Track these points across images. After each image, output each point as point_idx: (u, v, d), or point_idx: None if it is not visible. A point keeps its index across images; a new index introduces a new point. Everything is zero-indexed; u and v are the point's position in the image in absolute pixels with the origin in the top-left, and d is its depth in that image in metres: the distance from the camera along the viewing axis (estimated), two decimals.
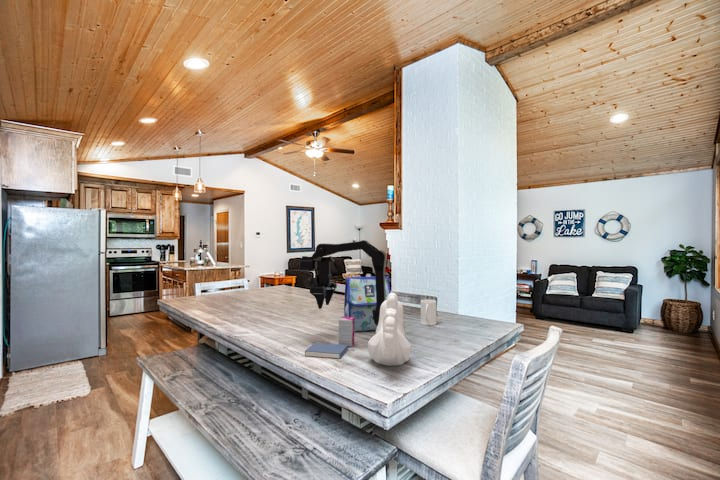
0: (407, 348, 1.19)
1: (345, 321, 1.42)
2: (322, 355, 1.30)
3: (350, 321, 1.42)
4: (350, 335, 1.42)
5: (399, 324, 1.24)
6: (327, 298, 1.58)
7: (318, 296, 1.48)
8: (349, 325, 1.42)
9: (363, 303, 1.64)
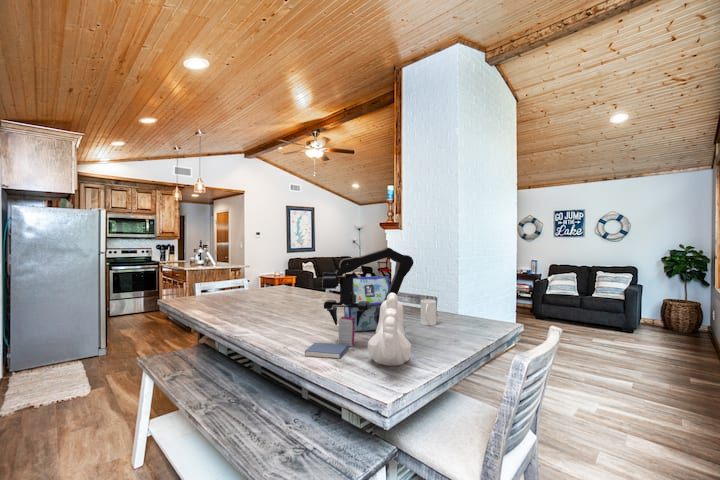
0: (407, 348, 1.19)
1: (345, 321, 1.42)
2: (322, 355, 1.30)
3: (350, 321, 1.42)
4: (350, 335, 1.42)
5: (399, 324, 1.24)
6: None
7: None
8: (349, 325, 1.42)
9: None
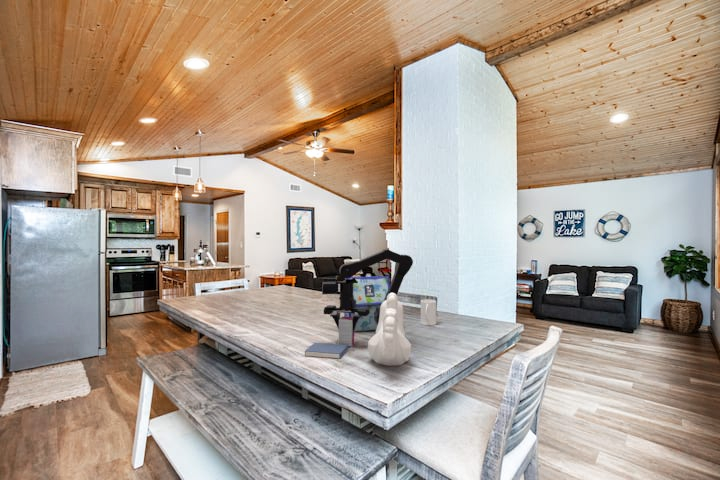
0: (407, 348, 1.19)
1: (345, 321, 1.42)
2: (322, 355, 1.30)
3: (350, 321, 1.42)
4: (350, 335, 1.42)
5: (399, 324, 1.24)
6: None
7: None
8: (349, 325, 1.42)
9: (363, 303, 1.64)
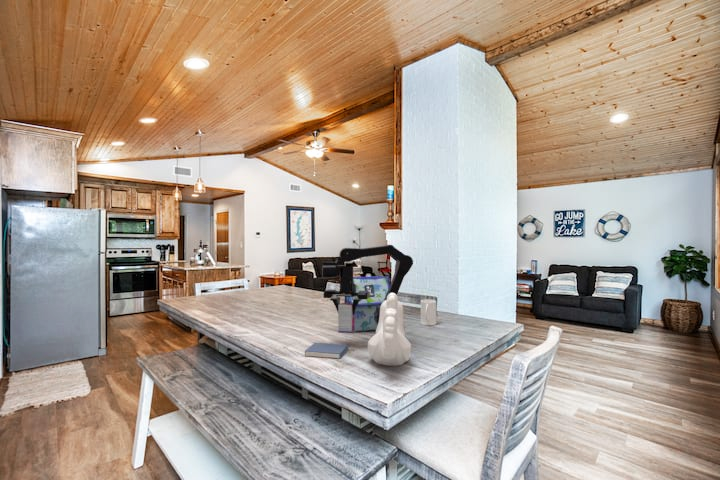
0: (407, 348, 1.19)
1: (344, 306, 1.43)
2: (322, 355, 1.30)
3: (349, 306, 1.42)
4: (350, 320, 1.42)
5: (399, 324, 1.24)
6: None
7: None
8: (348, 310, 1.42)
9: (363, 303, 1.64)
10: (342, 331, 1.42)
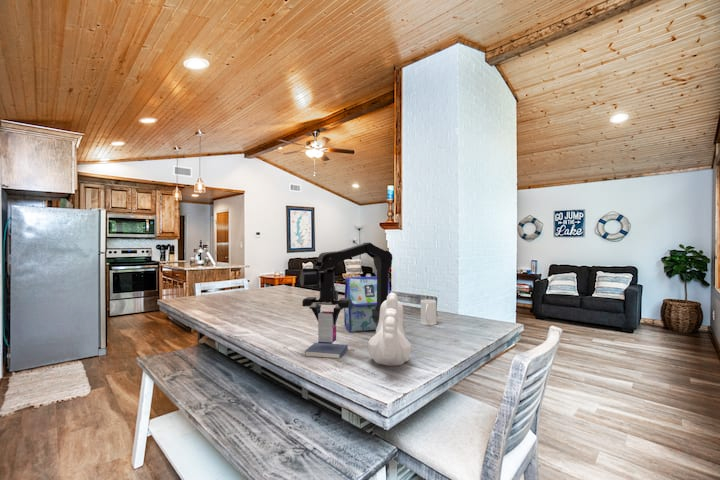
0: (407, 348, 1.19)
1: (325, 315, 1.33)
2: (322, 355, 1.30)
3: (330, 315, 1.33)
4: (330, 330, 1.32)
5: (399, 324, 1.24)
6: None
7: None
8: (329, 319, 1.33)
9: (363, 303, 1.64)
10: (322, 342, 1.33)
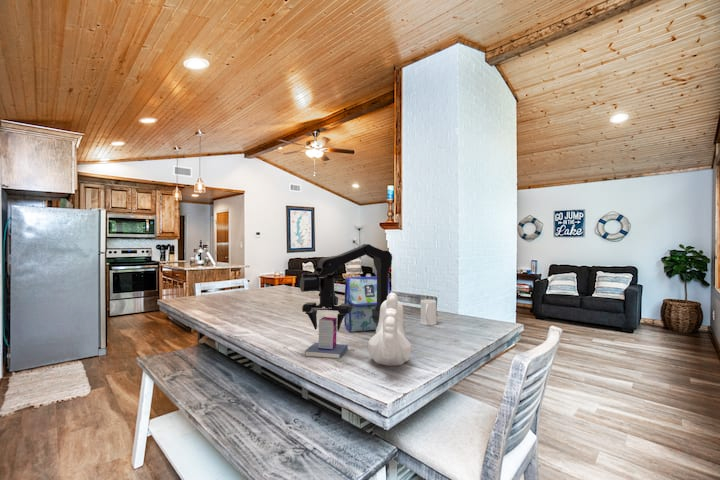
0: (407, 348, 1.19)
1: (325, 322, 1.33)
2: (322, 355, 1.30)
3: (331, 322, 1.32)
4: (331, 337, 1.32)
5: (399, 324, 1.24)
6: None
7: None
8: (329, 326, 1.32)
9: (363, 303, 1.64)
10: (322, 348, 1.33)
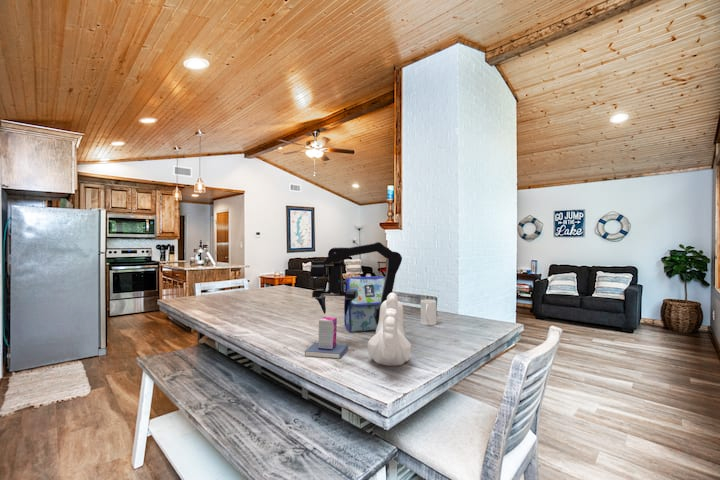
0: (407, 348, 1.19)
1: (325, 322, 1.33)
2: (322, 355, 1.30)
3: (331, 322, 1.32)
4: (331, 337, 1.32)
5: (399, 324, 1.24)
6: None
7: None
8: (329, 326, 1.32)
9: (363, 303, 1.64)
10: (322, 348, 1.33)
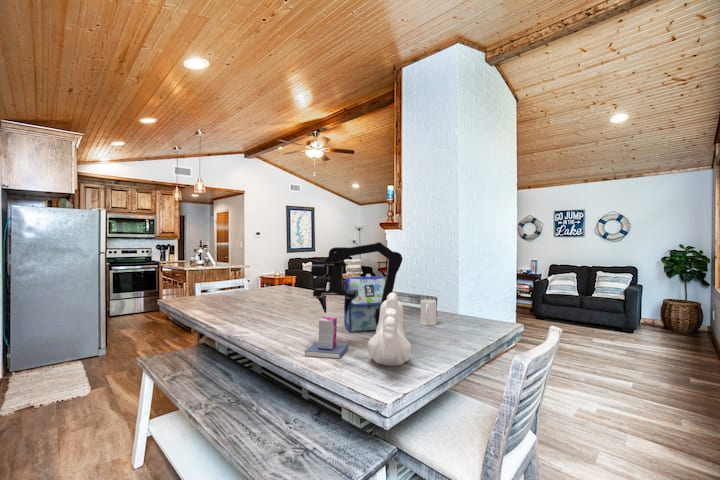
0: (407, 348, 1.19)
1: (325, 322, 1.33)
2: (322, 355, 1.30)
3: (331, 322, 1.32)
4: (331, 337, 1.32)
5: (399, 324, 1.24)
6: None
7: None
8: (329, 326, 1.32)
9: (363, 303, 1.64)
10: (322, 348, 1.33)
